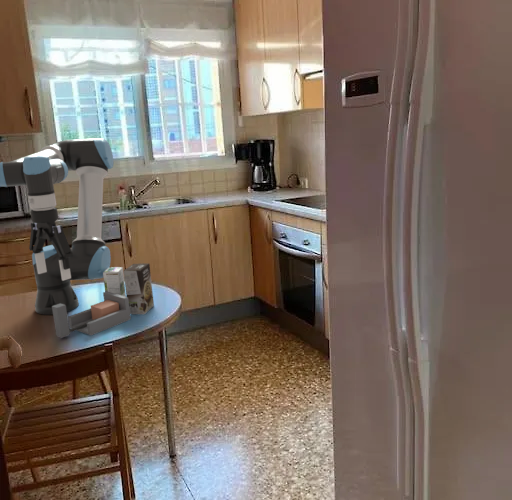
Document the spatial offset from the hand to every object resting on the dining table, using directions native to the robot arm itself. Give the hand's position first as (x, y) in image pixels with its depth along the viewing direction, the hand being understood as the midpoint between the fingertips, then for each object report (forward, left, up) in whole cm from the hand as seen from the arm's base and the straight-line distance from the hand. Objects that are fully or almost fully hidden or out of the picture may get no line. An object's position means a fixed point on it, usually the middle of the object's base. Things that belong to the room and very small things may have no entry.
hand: (54, 276), depth 170 cm
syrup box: (-8, +27, -21) cm, 35 cm away
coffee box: (+2, +30, -21) cm, 37 cm away
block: (0, +9, -20) cm, 22 cm away
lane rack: (0, +14, -21) cm, 25 cm away
